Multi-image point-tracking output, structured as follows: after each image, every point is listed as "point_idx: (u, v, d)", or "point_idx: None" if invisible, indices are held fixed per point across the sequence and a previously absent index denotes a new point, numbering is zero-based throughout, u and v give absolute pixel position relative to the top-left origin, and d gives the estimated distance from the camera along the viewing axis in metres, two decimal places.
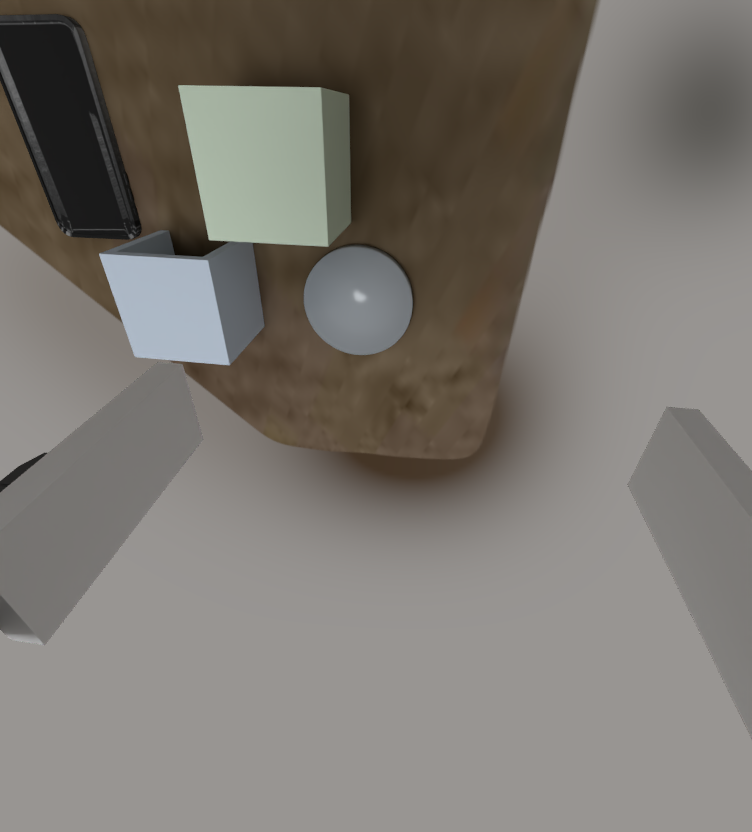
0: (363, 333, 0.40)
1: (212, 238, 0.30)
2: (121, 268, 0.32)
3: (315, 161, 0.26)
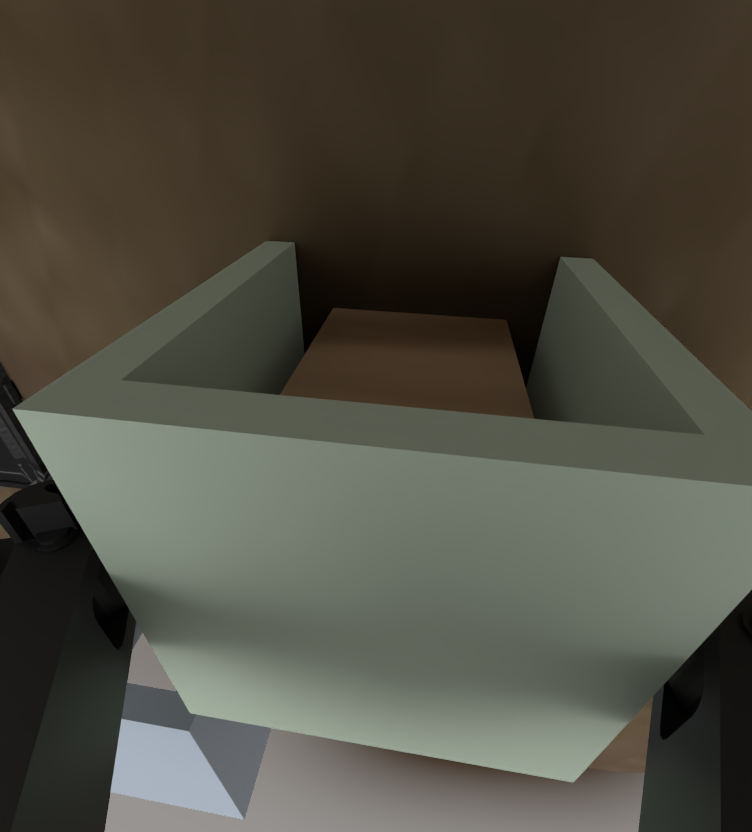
0: None
1: (200, 713, 0.10)
2: None
3: (632, 667, 0.06)
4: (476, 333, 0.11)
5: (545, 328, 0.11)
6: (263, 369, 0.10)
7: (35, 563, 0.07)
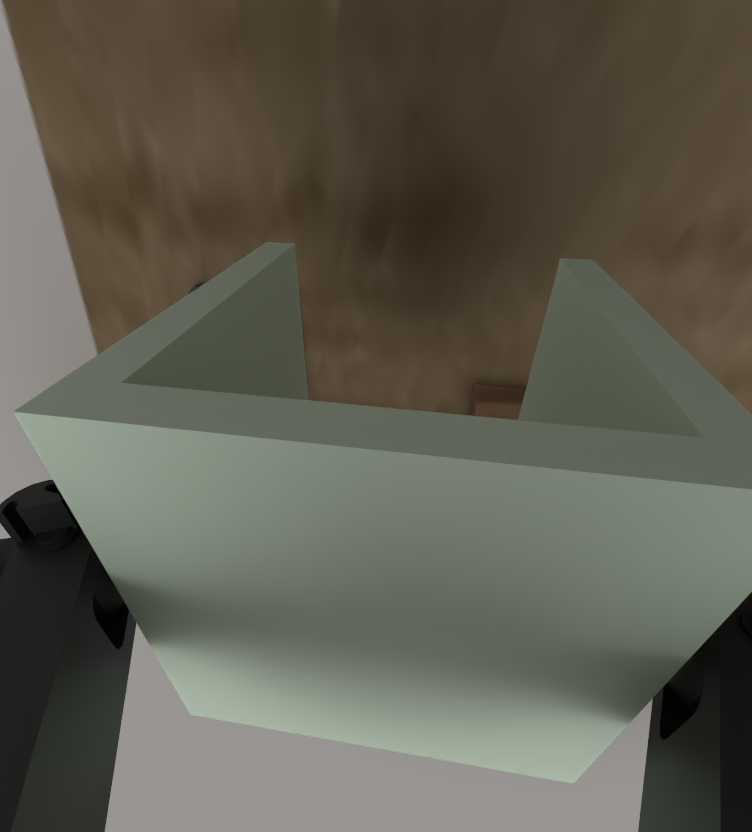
0: None
1: (200, 714, 0.10)
2: None
3: (632, 669, 0.06)
4: None
5: (545, 329, 0.12)
6: (263, 370, 0.10)
7: (36, 563, 0.07)
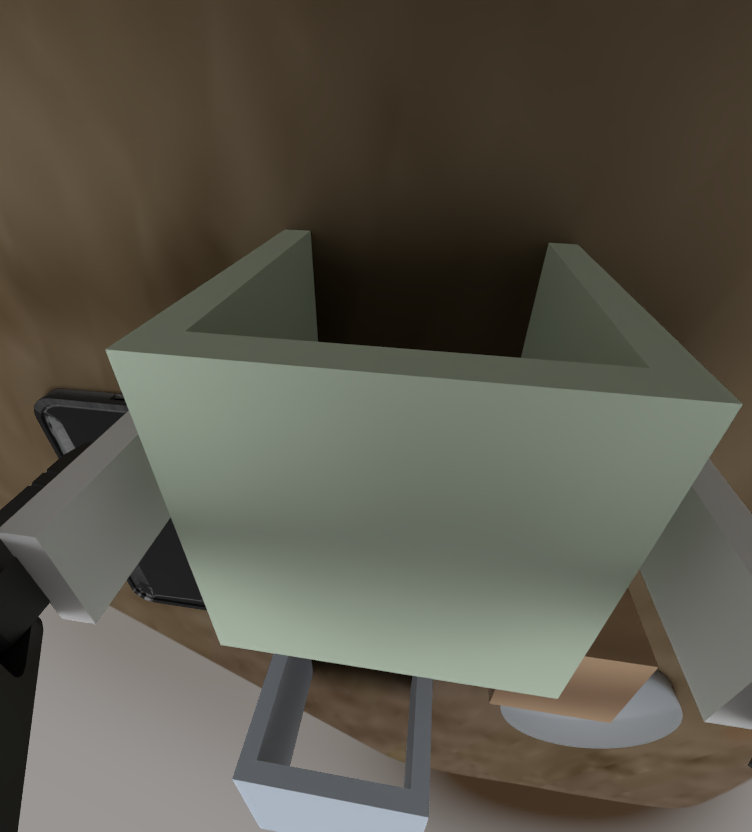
0: (583, 733, 0.27)
1: (230, 644, 0.11)
2: (267, 792, 0.19)
3: (600, 572, 0.07)
4: None
5: (535, 308, 0.13)
6: None
7: None
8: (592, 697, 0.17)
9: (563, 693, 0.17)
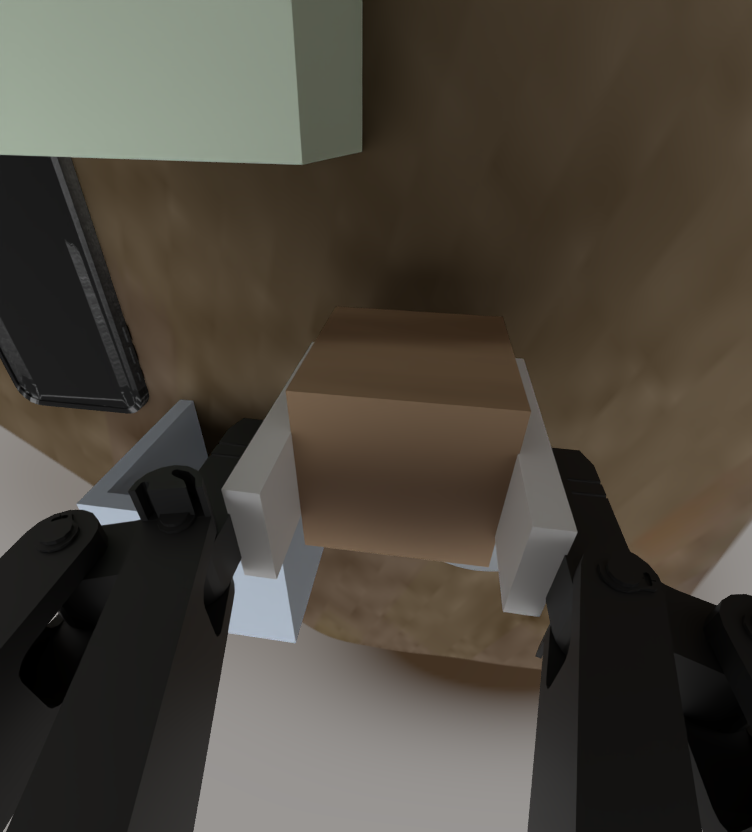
0: None
1: None
2: None
3: None
4: (473, 331, 0.11)
5: None
6: None
7: (158, 543, 0.07)
8: (446, 509, 0.10)
9: (402, 507, 0.10)
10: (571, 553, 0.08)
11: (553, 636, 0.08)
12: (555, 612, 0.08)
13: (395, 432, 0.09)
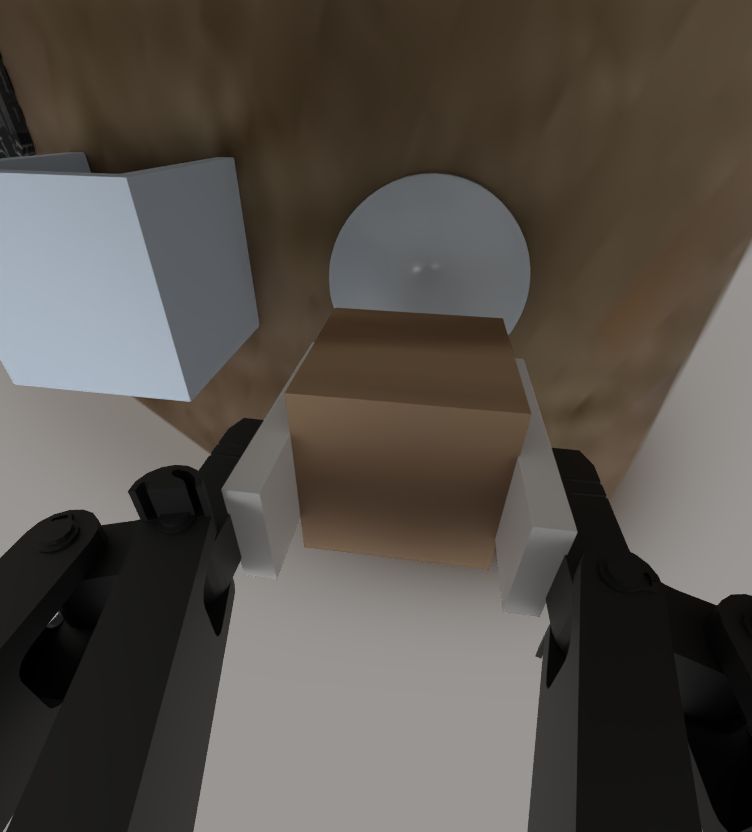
0: None
1: None
2: None
3: None
4: (474, 332, 0.11)
5: None
6: None
7: (158, 543, 0.07)
8: (446, 511, 0.10)
9: (401, 509, 0.10)
10: (571, 553, 0.08)
11: (553, 636, 0.08)
12: (555, 612, 0.08)
13: (395, 435, 0.09)
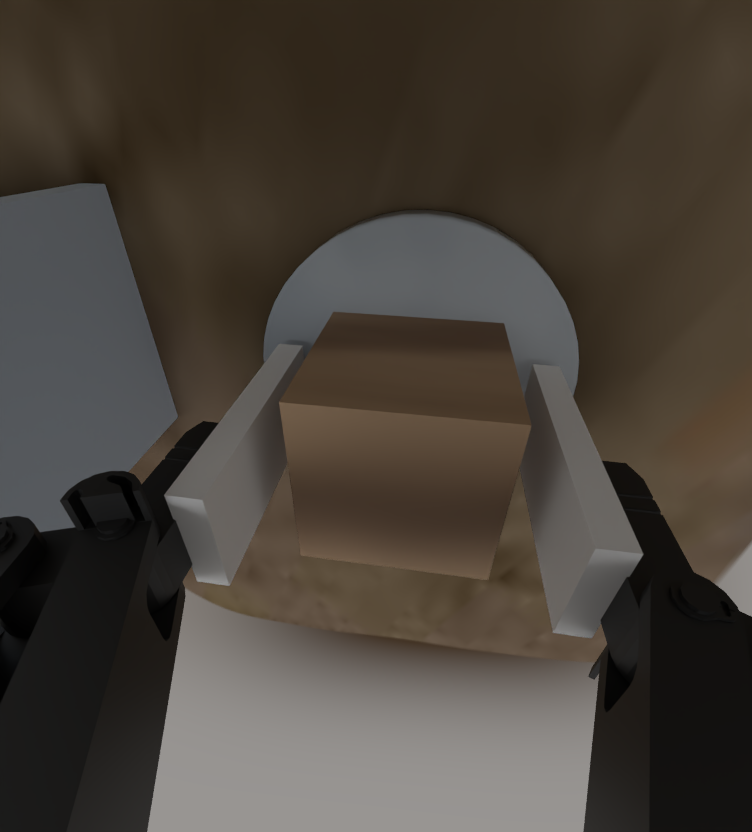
0: None
1: None
2: None
3: None
4: (473, 338, 0.11)
5: None
6: None
7: (95, 551, 0.07)
8: (444, 522, 0.10)
9: (399, 519, 0.10)
10: (633, 575, 0.07)
11: (612, 658, 0.08)
12: (616, 633, 0.07)
13: (392, 445, 0.09)
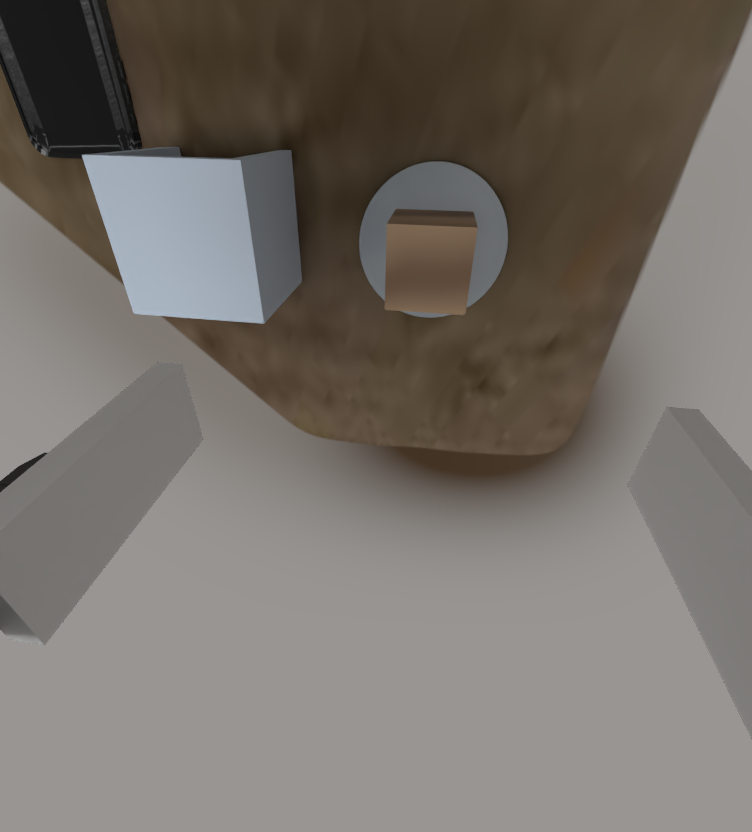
0: None
1: None
2: (114, 177, 0.22)
3: None
4: (459, 214, 0.26)
5: None
6: None
7: None
8: (447, 281, 0.25)
9: (428, 281, 0.25)
10: None
11: None
12: None
13: (427, 241, 0.24)
